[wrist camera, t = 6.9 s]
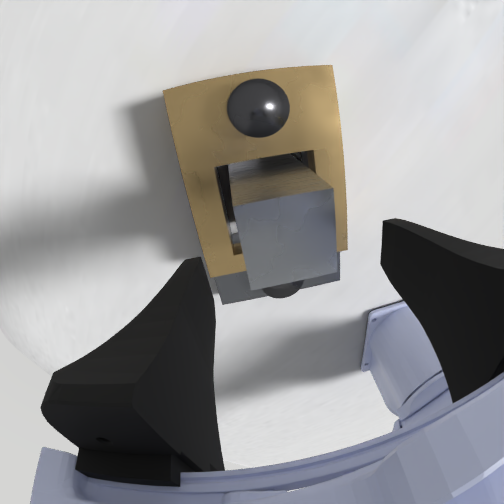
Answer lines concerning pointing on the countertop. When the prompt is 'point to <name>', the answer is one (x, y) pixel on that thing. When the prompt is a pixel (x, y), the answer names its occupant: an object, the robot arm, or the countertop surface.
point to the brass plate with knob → (254, 155)
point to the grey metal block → (283, 220)
